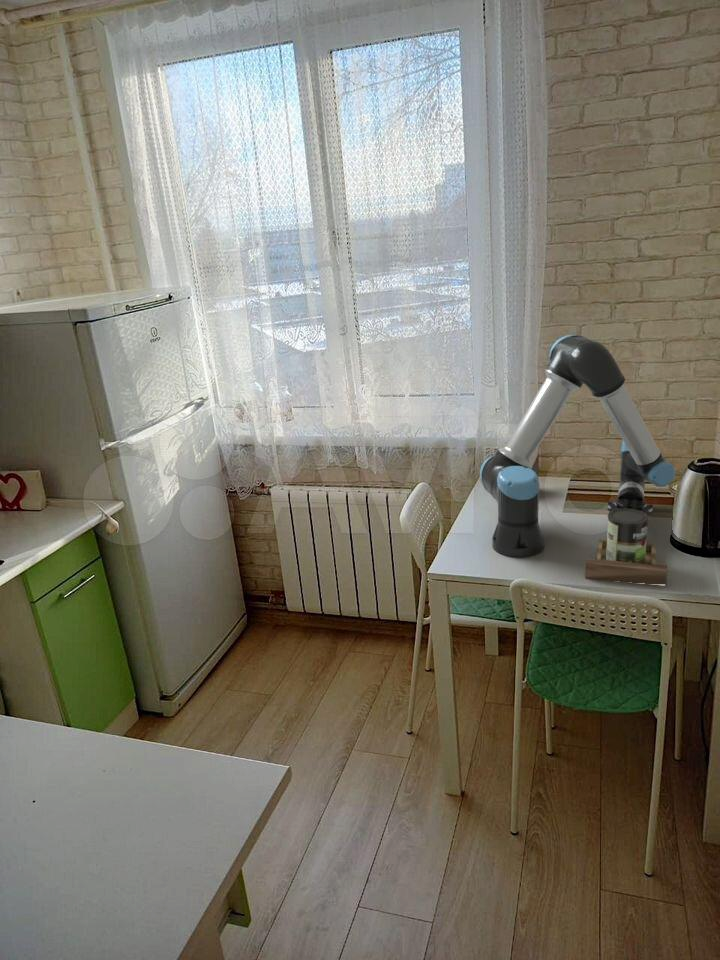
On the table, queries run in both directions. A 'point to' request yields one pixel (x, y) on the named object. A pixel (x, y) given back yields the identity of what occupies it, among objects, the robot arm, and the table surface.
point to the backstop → (625, 571)
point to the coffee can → (627, 535)
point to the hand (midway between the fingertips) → (627, 529)
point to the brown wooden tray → (649, 556)
